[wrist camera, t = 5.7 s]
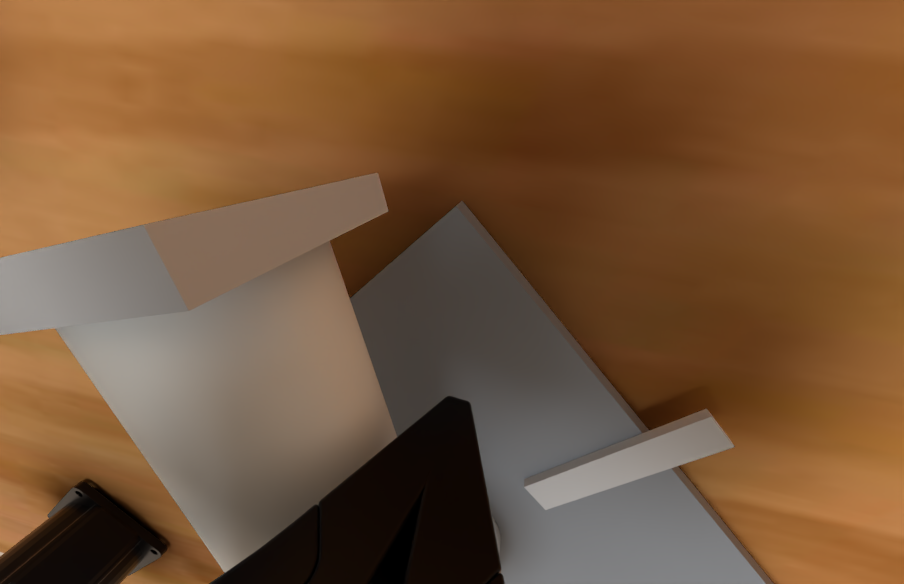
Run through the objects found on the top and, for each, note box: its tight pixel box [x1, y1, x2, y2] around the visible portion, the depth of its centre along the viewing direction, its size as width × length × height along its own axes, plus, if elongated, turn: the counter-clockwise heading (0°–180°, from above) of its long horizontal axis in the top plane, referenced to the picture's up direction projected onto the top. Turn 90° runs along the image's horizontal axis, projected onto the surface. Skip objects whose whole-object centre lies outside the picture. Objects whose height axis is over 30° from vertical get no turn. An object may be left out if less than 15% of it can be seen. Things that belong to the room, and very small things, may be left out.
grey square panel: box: [350, 201, 774, 584], centre depth 13 cm, size 20×20×3 cm
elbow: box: [0, 173, 397, 573], centre depth 9 cm, size 17×6×5 cm, turn 12°
